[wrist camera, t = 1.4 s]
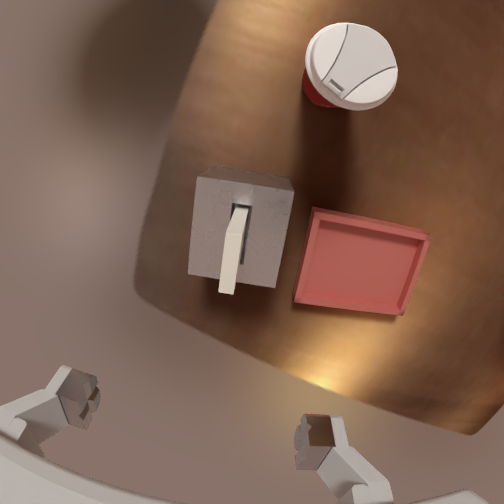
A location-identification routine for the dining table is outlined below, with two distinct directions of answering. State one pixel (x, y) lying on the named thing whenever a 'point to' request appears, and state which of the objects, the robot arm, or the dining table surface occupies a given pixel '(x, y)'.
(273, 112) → the dining table surface
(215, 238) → the dispenser
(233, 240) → the long rectangular block
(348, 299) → the tray
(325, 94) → the paper cup
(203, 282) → the dining table surface
